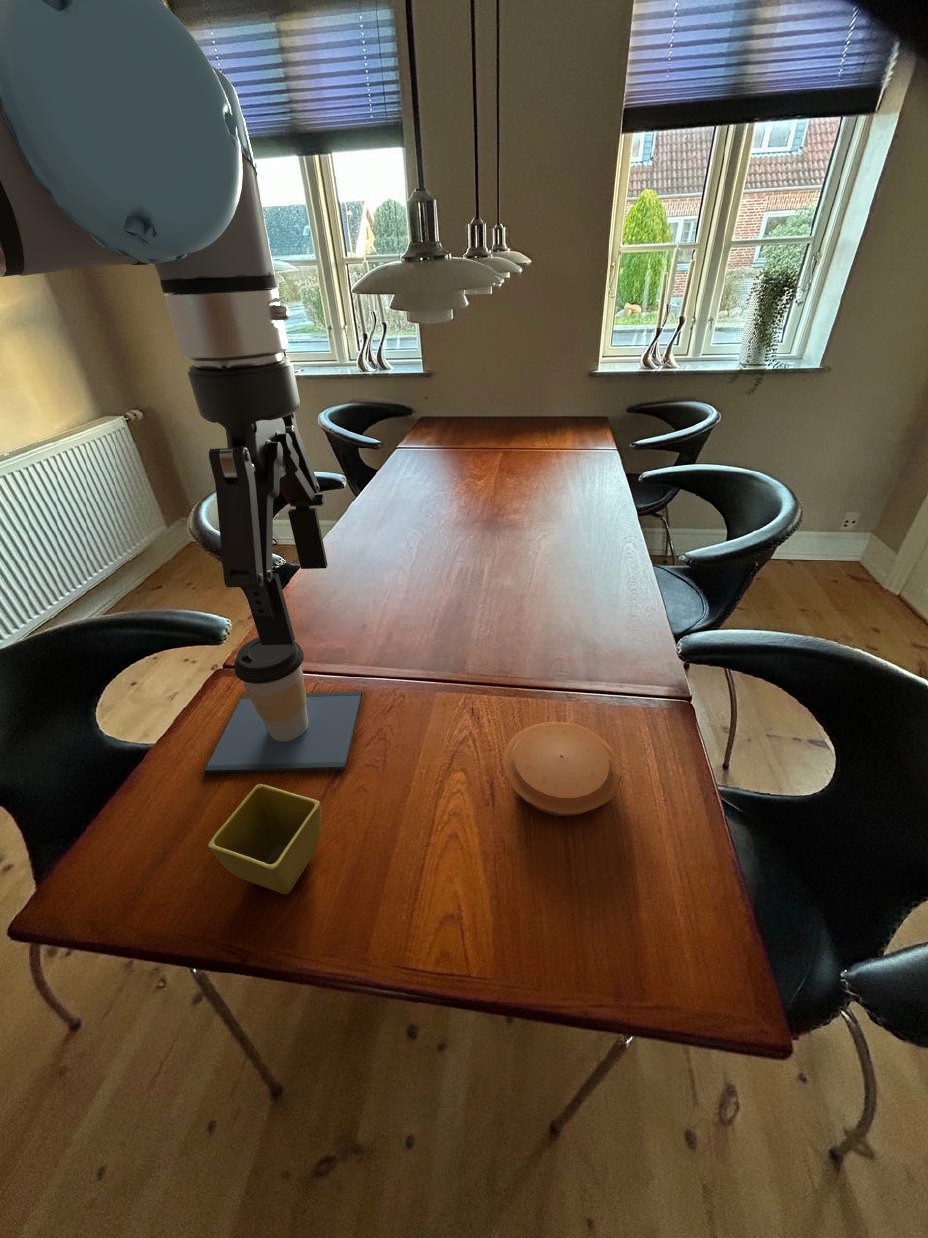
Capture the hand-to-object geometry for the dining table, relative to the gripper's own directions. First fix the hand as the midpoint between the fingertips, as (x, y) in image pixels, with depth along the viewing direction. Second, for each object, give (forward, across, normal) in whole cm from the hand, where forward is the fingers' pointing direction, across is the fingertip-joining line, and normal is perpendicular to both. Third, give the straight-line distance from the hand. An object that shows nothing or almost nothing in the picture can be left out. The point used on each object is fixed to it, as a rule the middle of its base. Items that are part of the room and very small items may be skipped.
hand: (298, 601), depth 51 cm
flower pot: (+33, -8, +7) cm, 34 cm away
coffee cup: (+32, +15, +12) cm, 38 cm away
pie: (+33, +4, -28) cm, 43 cm away
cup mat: (+33, +15, +12) cm, 38 cm away
